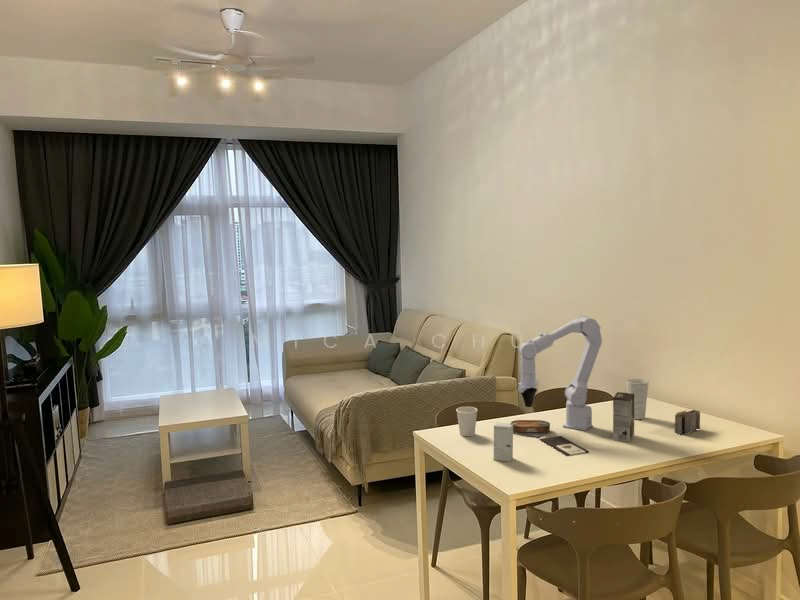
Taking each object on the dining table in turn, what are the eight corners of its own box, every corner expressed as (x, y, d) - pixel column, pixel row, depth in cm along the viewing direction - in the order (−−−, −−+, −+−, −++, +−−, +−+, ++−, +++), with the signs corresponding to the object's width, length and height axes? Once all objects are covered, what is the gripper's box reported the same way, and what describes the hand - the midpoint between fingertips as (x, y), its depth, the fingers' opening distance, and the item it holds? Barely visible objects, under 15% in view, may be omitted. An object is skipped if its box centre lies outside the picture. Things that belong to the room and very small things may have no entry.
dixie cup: (462, 439, 228) (462, 413, 227) (452, 432, 235) (452, 408, 234) (482, 436, 231) (481, 410, 230) (471, 430, 238) (471, 405, 237)
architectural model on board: (682, 436, 225) (682, 411, 224) (674, 434, 227) (675, 409, 226) (700, 431, 230) (701, 406, 229) (693, 429, 233) (693, 404, 232)
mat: (546, 432, 233) (546, 430, 233) (537, 438, 226) (537, 436, 226) (506, 425, 243) (506, 423, 243) (497, 430, 237) (497, 429, 237)
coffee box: (616, 433, 230) (617, 391, 228) (634, 435, 226) (635, 393, 225) (612, 440, 222) (612, 397, 220) (630, 442, 219) (631, 399, 217)
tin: (548, 420, 238) (551, 425, 230) (548, 428, 238) (551, 433, 230) (509, 419, 239) (511, 424, 231) (509, 427, 239) (512, 432, 231)
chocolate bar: (560, 435, 227) (588, 451, 209) (560, 438, 227) (588, 453, 210) (539, 438, 224) (566, 454, 207) (539, 441, 224) (566, 457, 207)
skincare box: (493, 460, 205) (492, 425, 204) (496, 455, 209) (495, 421, 208) (511, 462, 202) (510, 427, 201) (513, 457, 207) (513, 423, 206)
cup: (623, 419, 247) (624, 382, 246) (629, 413, 254) (629, 377, 253) (645, 422, 242) (645, 384, 241) (650, 416, 249) (650, 380, 248)
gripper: (526, 368, 246) (527, 401, 247) (510, 375, 234) (511, 409, 235) (542, 370, 241) (543, 403, 243) (527, 377, 230) (527, 412, 231)
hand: (528, 406), depth 239 cm, fingers closed
